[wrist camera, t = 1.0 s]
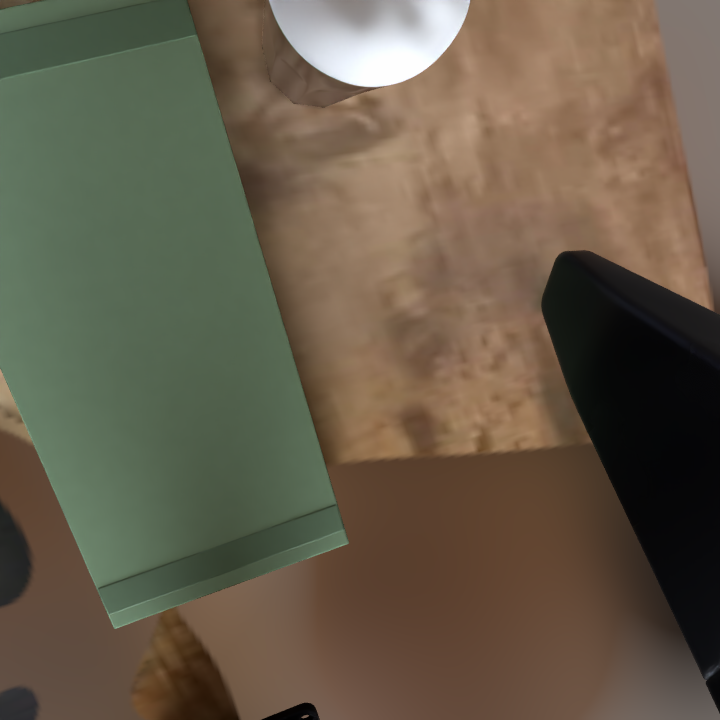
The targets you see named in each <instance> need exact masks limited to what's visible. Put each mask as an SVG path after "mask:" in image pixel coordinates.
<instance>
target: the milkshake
mask: <svg viewBox="0 0 720 720" xmlns="http://www.w3.org/2000/svg"><path fill="white" fill-rule="evenodd" d="M469 4H470V0H265V1H264V16H263V35H262V50H263V54H264V58H265V62H266V66H267V71H268V75H269V79H270V82H271V83H273V84H274V85H275V86H276V87H277V88H278V89H279V90H280V91H281V92H282V93H283V94H284V95H285V96H286V97H287V98H288V99H289V100H290V101H291V102H292V103H293V104H300V105H308V106H315V107H322V108H325V107H327V106H330V105H333V104H335V103H338V102H340V101H343V100H345V99H348V98H350V97H353V96H356V95H358V94H361V93H364V92H367V91H371V90H374V89H378V88H382V87H386V86H389V85H393V84H396V83H400V82H402V81H405V80H407V79H410V78H412V77H414V76H416V75H417V74H419V73H421V72H422V71H424V70H425V69H426V68H428V67H429V66H430V65H432V64H433V63H434V62H435V61H436V60H437V59H438V58H439V57H440V56H441V55H442V54H443V53H444V51H445V50H446V49H447V48H448V46H449V45H450V44H451V42H452V41H453V40H454V38H455V37H456V35H457V33H458V32H459V30H460V28H461V26H462V24H463V22H464V20H465V17H466V14H467V11H468V8H469Z"/></svg>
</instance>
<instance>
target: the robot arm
mask: <svg viewBox="0 0 720 720" xmlns="http://www.w3.org/2000/svg"><path fill="white" fill-rule="evenodd" d="M541 307H542V313H543V316H544V319H545V322H546V325H547V328H548V331H549V334H550V337H551V340H552V343H553V346H554V349H555V352H556V355H557V358H558V361H559V364H560V367H561V370H562V373H563V376H564V378H565V381H566V384H567V387H568V389H569V392H570V395H571V397H572V399H573V402H574V404H575V406H576V409H577V411H578V413H579V415H580V417H581V419H582V421H583V424H584V426H585V428H586V430H587V432H588V434H589V436H590V438H591V440H592V443H593V445H594V447H595V449H596V451H597V453H598V455H599V457H600V460H601V462H602V464H603V466H604V468H605V470H606V472H607V474H608V477H609V479H610V481H611V483H612V485H613V487H614V489H615V491H616V493H617V496H618V498H619V500H620V502H621V504H622V506H623V508H624V510H625V513H626V515H627V517H628V519H629V521H630V523H631V525H632V527H633V530H634V532H635V534H636V536H637V538H638V540H639V542H640V544H641V546H642V549H643V551H644V553H645V555H646V557H647V559H648V561H649V563H650V566H651V568H652V570H653V572H654V574H655V576H656V578H657V580H658V583H659V585H660V587H661V589H662V591H663V593H664V595H665V597H666V599H667V602H668V604H669V606H670V608H671V610H672V612H673V614H674V616H675V619H676V621H677V623H678V625H679V627H680V629H681V631H682V633H683V635H684V638H685V640H686V642H687V644H688V646H689V648H690V650H691V652H692V654H693V657H694V659H695V661H696V663H697V665H698V667H699V669H700V672H701V674H702V676H703V678H704V679H705V680H707V681H706V685H707V687H708V689H709V692H710V694H711V696H712V698H713V700H714V702H715V704H716V706H717V708H718V711H719V713H720V315H719V314H717V313H715V312H713V311H711V310H709V309H707V308H705V307H703V306H701V305H699V304H697V303H695V302H693V301H691V300H689V299H687V298H685V297H682V296H680V295H678V294H676V293H674V292H672V291H670V290H668V289H666V288H664V287H662V286H660V285H658V284H656V283H654V282H652V281H650V280H648V279H646V278H644V277H642V276H640V275H638V274H636V273H633V272H631V271H629V270H627V269H625V268H623V267H621V266H619V265H617V264H615V263H613V262H611V261H609V260H607V259H605V258H603V257H601V256H599V255H597V254H595V253H593V252H590V251H586V250H582V251H564V252H562V253H560V254H559V255H558V257H557V258H556V260H555V262H554V265H553V268H552V271H551V273H550V276H549V279H548V282H547V285H546V288H545V290H544V293H543V296H542V302H541ZM304 715H309V716H308V717H307V718H301V717H302V716H304ZM262 720H320V719H319V716H318V713H317V710H316V708H315V707H314V705H312V704H311V703H302V704H299V705H297V706H294V707H292V708H289V709H287V710H285V711H282V712H279V713H277V714H274V715H272V716H269V717H267V718H264V719H262Z"/></svg>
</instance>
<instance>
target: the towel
mask: <svg viewBox="0 0 720 720" xmlns="http://www.w3.org/2000/svg"><path fill="white" fill-rule="evenodd" d="M0 368H1V371H2V373H3V375H4V378H5V380H6V382H7V384H8V387H9V389H10V391H11V394H12V396H13V398H14V400H15V403H16V405H17V407H18V410H19V412H20V414H21V416H22V419H23V421H24V423H25V426H26V428H27V430H28V433H29V435H30V437H31V439H32V442H33V444H34V446H35V449H36V451H37V453H38V455H39V458H40V460H41V462H42V465H43V467H44V469H45V471H46V474H47V476H48V478H49V480H50V483H51V485H52V487H53V490H54V492H55V494H56V496H57V499H58V501H59V503H60V505H61V508H62V510H63V512H64V515H65V517H66V519H67V522H68V524H69V526H70V529H71V531H72V533H73V535H74V538H75V540H76V542H77V545H78V547H79V549H80V552H81V554H82V556H83V558H84V561H85V563H86V565H87V568H88V570H89V572H90V575H91V577H92V579H93V581H94V584H95V586H96V588H97V590H98V593H99V595H100V597H101V600H102V602H103V604H104V606H105V609H106V611H107V613H108V616H109V618H110V620H111V623H112V625H113V627H114V628H115V629H116V628H118V627H121V626H124V625H126V624H129V623H132V622H134V621H137V620H140V619H143V618H146V617H148V616H151V615H154V614H157V613H159V612H162V611H165V610H168V609H170V608H173V607H176V606H179V605H181V604H184V603H187V602H189V601H192V600H195V599H198V598H201V597H203V596H206V595H209V594H211V593H214V592H217V591H220V590H222V589H225V588H228V587H230V586H233V585H236V584H239V583H241V582H244V581H247V580H250V579H253V578H255V577H258V576H261V575H264V574H266V573H269V572H272V571H275V570H277V569H280V568H283V567H285V566H288V565H291V564H293V563H296V562H299V561H302V560H305V559H307V558H310V557H313V556H316V555H318V554H321V553H324V552H327V551H329V550H332V549H335V548H338V547H340V546H343V545H346V544H348V543H349V541H348V538H347V535H346V531H345V528H344V524H343V521H342V518H341V515H340V511H339V508H338V504H337V501H336V498H335V495H334V491H333V488H332V484H331V481H330V477H329V474H328V471H327V467H326V464H325V461H324V457H323V454H322V451H321V447H320V444H319V441H318V437H317V434H316V431H315V427H314V424H313V421H312V417H311V414H310V410H309V407H308V404H307V400H306V397H305V394H304V390H303V387H302V384H301V380H300V377H299V374H298V370H297V367H296V364H295V360H294V357H293V354H292V350H291V347H290V343H289V340H288V337H287V333H286V330H285V327H284V323H283V320H282V317H281V313H280V310H279V307H278V303H277V300H276V297H275V293H274V290H273V287H272V283H271V280H270V276H269V273H268V270H267V266H266V263H265V260H264V256H263V253H262V250H261V246H260V243H259V240H258V236H257V233H256V230H255V226H254V223H253V220H252V216H251V213H250V209H249V206H248V203H247V199H246V196H245V193H244V189H243V186H242V183H241V179H240V176H239V173H238V169H237V166H236V163H235V159H234V156H233V153H232V149H231V146H230V142H229V139H228V136H227V132H226V129H225V126H224V122H223V119H222V116H221V112H220V109H219V106H218V102H217V99H216V96H215V92H214V89H213V86H212V82H211V79H210V75H209V72H208V69H207V65H206V62H205V59H204V55H203V52H202V49H201V45H200V42H199V39H198V35H197V32H196V28H195V25H194V22H193V18H192V15H191V12H190V8H189V5H188V2H187V0H43V1H38V2H33V3H28V4H23V5H18V6H14V7H9V8H4V9H0Z"/></svg>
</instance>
